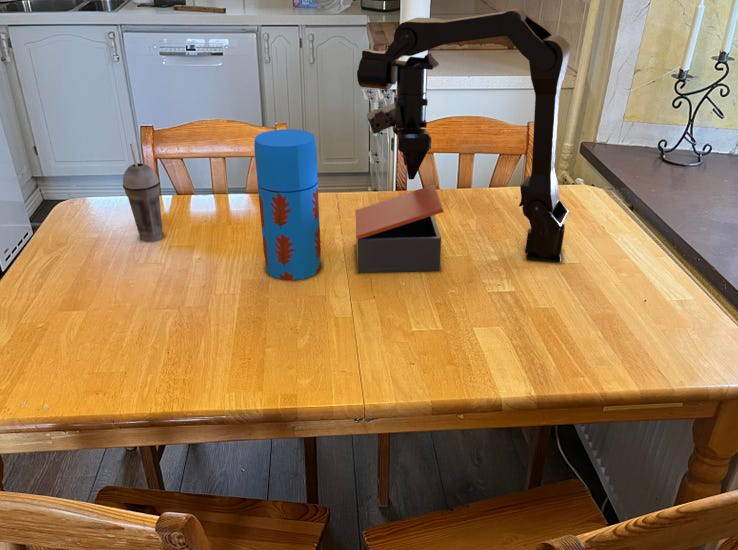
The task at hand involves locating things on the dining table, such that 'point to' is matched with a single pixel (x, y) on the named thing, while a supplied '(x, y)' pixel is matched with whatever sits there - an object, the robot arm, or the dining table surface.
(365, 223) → the lid
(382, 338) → the dining table surface
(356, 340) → the dining table surface
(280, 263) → the thermos
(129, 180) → the beverage cup
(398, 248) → the box
